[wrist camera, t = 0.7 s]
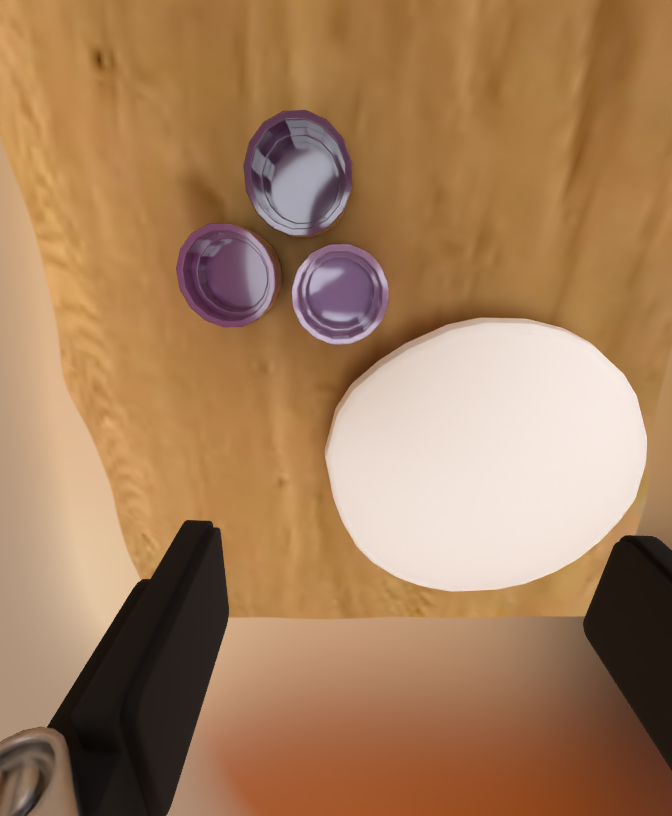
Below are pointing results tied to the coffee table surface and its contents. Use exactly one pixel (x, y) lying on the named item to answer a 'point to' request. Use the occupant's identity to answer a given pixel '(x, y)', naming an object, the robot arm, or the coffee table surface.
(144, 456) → the coffee table surface
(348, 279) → the lilac dish
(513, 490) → the plate
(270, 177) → the aubergine dish
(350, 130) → the coffee table surface
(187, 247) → the plum dish
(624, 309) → the coffee table surface
